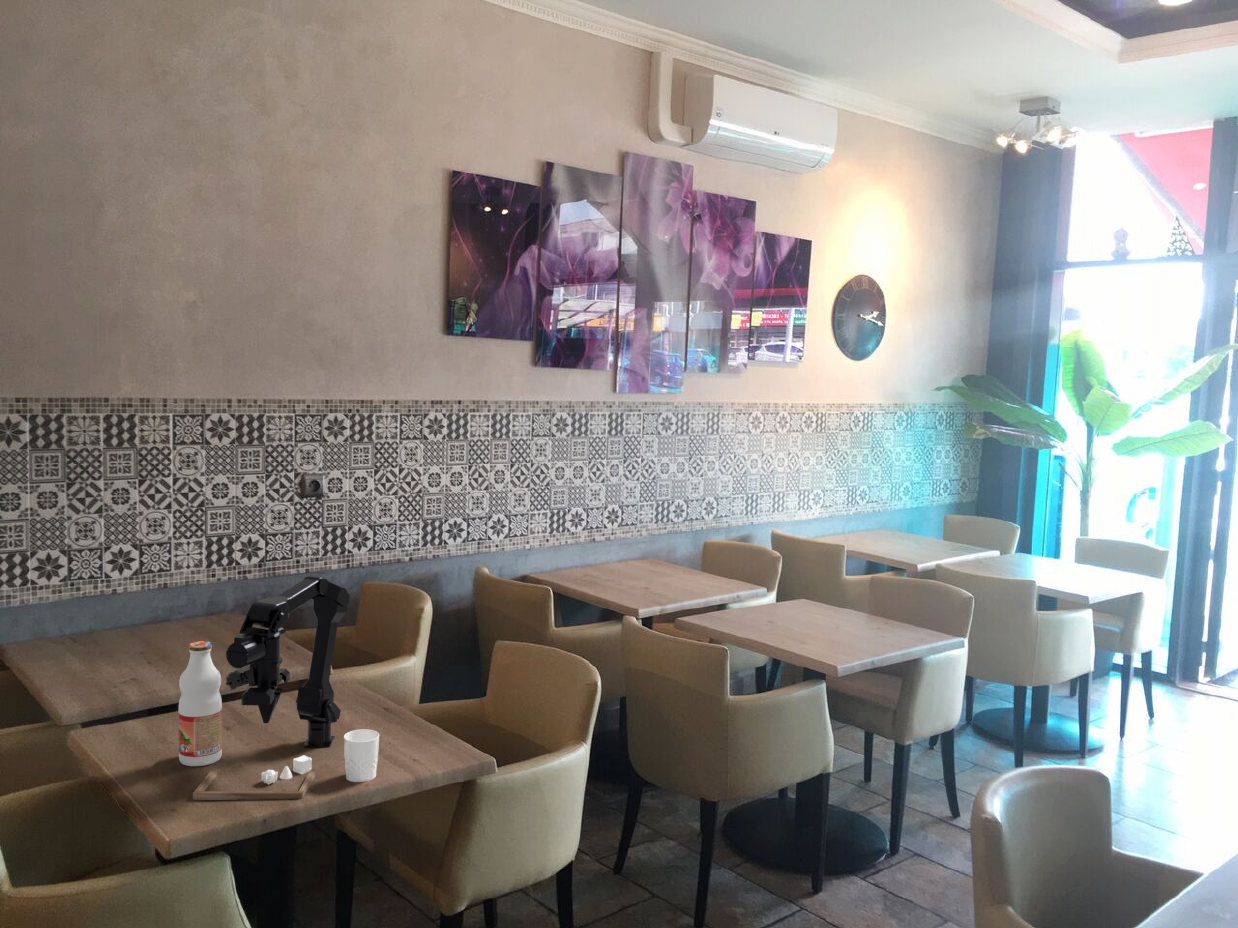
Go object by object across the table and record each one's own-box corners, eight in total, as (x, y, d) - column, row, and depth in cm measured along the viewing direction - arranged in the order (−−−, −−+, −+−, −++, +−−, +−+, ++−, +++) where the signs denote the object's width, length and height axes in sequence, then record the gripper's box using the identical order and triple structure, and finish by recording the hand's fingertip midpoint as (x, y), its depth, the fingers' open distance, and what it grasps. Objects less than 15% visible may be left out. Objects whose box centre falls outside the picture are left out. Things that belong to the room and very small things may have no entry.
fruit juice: (215, 767, 233) (215, 649, 230) (173, 767, 232) (172, 649, 229) (226, 751, 242) (226, 638, 239) (186, 751, 241) (185, 637, 238)
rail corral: (212, 774, 228) (212, 768, 228) (315, 775, 230) (315, 768, 230) (192, 799, 215) (192, 792, 215) (302, 799, 217) (302, 793, 217)
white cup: (381, 770, 234) (382, 729, 233) (374, 785, 226) (375, 742, 225) (347, 770, 234) (348, 728, 233) (339, 784, 226) (340, 741, 225)
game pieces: (303, 767, 235) (303, 754, 235) (312, 771, 233) (312, 758, 233) (258, 784, 225) (258, 770, 225) (267, 788, 223) (267, 774, 223)
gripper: (242, 644, 237) (242, 708, 239) (217, 668, 219) (217, 737, 220) (290, 645, 238) (289, 708, 240) (269, 668, 220) (269, 737, 221)
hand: (266, 722), depth 230 cm, fingers closed
